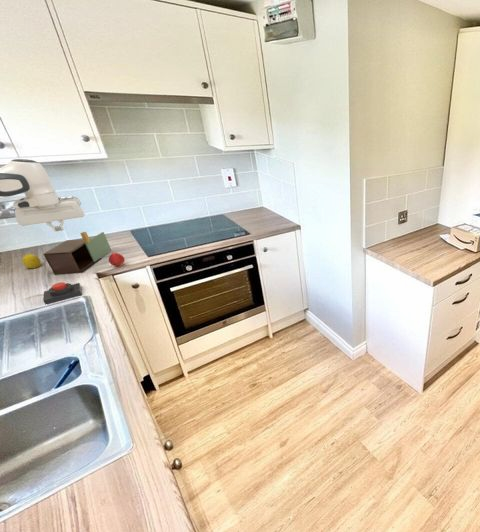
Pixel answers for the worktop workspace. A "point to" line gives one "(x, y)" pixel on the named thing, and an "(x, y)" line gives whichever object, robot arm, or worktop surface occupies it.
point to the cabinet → (69, 257)
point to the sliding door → (96, 245)
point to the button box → (62, 293)
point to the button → (59, 286)
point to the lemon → (31, 261)
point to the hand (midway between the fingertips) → (59, 230)
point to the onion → (116, 259)
